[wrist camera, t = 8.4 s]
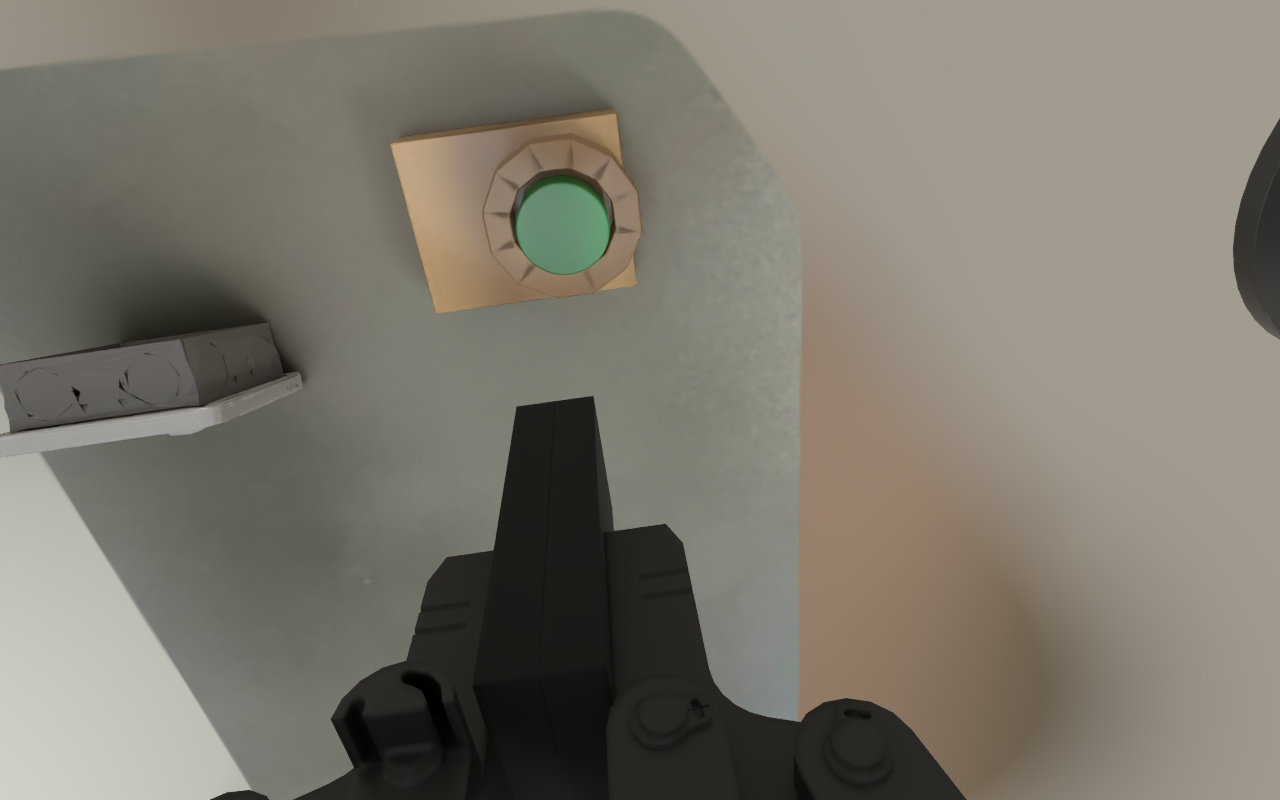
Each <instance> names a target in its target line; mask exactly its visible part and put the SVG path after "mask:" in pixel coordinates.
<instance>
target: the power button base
mask: <svg viewBox="0 0 1280 800" xmlns="http://www.w3.org/2000/svg"><path fill="white" fill-rule="evenodd" d="M390 146H391V150H392V153H393V157H394V161H395V164H396V168H397V172H398V176H399V179H400V183H401V187H402V190H403V194H404V198H405V201H406V205H407V209H408V213H409V216H410V220H411V224H412V227H413V231H414V235H415V238H416V242H417V246H418V250H419V253H420V257H421V261H422V264H423V268H424V272H425V275H426V279H427V283H428V287H429V290H430V294H431V298H432V301H433V305H434V309H435V312H436V313H444V312H451V311H459V310H466V309H473V308H480V307H487V306H494V305H502V304H509V303H516V302H523V301H530V300H537V299H545V298H552V297H554V298H562V297H569V296H576V295H584V294H591V293H595V292H597V291H602V290H609V289H616V288H623V287H631V286H636V285H637V280H636V271H635V263H634V255H633V253H634V251H635V248H636V246H637V244H638V241H639V239H640V237H641V235H642V223H641V214H640V206H639V197H638V191H637V189H636V186H635V184H634V182H633V180H632V179H631V178H630V176H629V175H628V173H627V172H626V171H625V169H624V168H623V165H622V157H621V148H620V140H619V132H618V124H617V116H616V113H615V111H614V109H605V110H597V111H590V112H582V113H575V114H568V115H560V116H553V117H545V118H538V119H530V120H523V121H515V122H508V123H500V124H493V125H485V126H478V127H470V128H463V129H455V130H448V131H440V132H433V133H425V134H418V135H410V136H403V137H400V138H398V139H397V140H395V141H394V142H392V143H391V144H390ZM554 175H569V176H574V177H577V178H580V179H582V180H584V181H586V182H587V183H589V184H590V185H591V186H592V187H593V188H595V190H596V191H597V192H598V193H599V195H600V196H601V198H602V199H603V201H604V203H605V206H606V209H607V214H608V219H609V225H610V235H609V241H608V244H607V247H606V249H605V251H604V253H603V254H602V256H601V257H600V259H599V260H598V261H597V262H596V263H595V264H594V265H592V266H591V267H590V268H588V269H586V270H584V271H582V272H580V273H577V274H572V275H557V274H552V273H548V272H546V271H544V270H541V269H540V268H538V267H537V266H535V265H534V264H533V263H531V261H530V260H529V259H528V258H527V257H526V256H525V255H524V253H523V251H522V250H521V248H520V245H519V243H518V240H517V236H516V218H517V215H518V211H519V207H520V204H521V202H522V199H523V197H524V196H525V194H526V193H527V191H528V190H529V189H530V188H531V187H532V186H533V185H534V184H536V183H537V182H538V181H540V180H542V179H544V178H547V177H550V176H554Z"/></svg>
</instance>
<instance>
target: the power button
mask: <svg viewBox="0 0 1280 800" xmlns="http://www.w3.org/2000/svg"><path fill="white" fill-rule="evenodd" d="M609 235H610V225H609V219H608V214H607V209H606V206H605V203H604V201H603V199H602V198H601V196H600V195H599V193H598V192H597V191H596V190H595V188H593V187H592V186H591V185H590V184H589V183H587V182H586V181H584V180H582V179H580V178H577V177H574V176H569V175H554V176H550V177H547V178H544V179H542V180H540V181H538V182H537V183H536V184H534V185H533V186H532V187H531V188H530V189H529V190H528V191H527V193H526V194H525V196H524V197H523V199H522V202H521V204H520V207H519V211H518V215H517V218H516V236H517V240H518V243H519V245H520V248H521V250H522V251H523V253H524V255H525V256H526V257H527V258H528V259H529V260H530V261H531V263H533V264H534V265H535V266H537V267H538V268H540V269H541V270H544V271H546V272H548V273H552V274H557V275H572V274H577V273H580V272H582V271H584V270H586V269H588V268H590V267H591V266H592V265H594V264H595V263H596V262H597V261H598V260H599V259H600V257H601V256H602V254H603V253H604V251H605V249H606V247H607V244H608V241H609Z"/></svg>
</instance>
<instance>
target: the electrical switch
mask: <svg viewBox="0 0 1280 800" xmlns="http://www.w3.org/2000/svg"><path fill="white" fill-rule="evenodd" d="M122 346H123V348H121V346H120V343H119V344H113V345H108V346H102V347H96V348H91V349H85V350H80V351H74V352H69V353H63V354H57V355H52V356H46V357H41V358H35V359H30V360H24V361H18V362H13V363H7V364H2V365H0V384H1V386H2V389H3V392H4V399H5V410H6V413H7V415H8V418H9V423H10V432H7V433H3V434H0V457H8V456H14V455H22V454H29V453H35V452H42V451H49V450H56V449H63V448H70V447H77V446H84V445H91V444H98V443H105V442H112V441H119V440H126V439H133V438H139V437H146V436H153V435H160V434H167V433H169V435H170V436H175V435H185V434H192V433H195V432H198V431H201V430H203V429H204V428H206V427H209V426H213V425H217V424H221V423H224V422H226V421H229V420H231V419H234V418H237V417H239V416H242V415H244V414H246V413H248V412H251V411H253V410H255V409H258V408H260V407H262V406H264V405H267V404H269V403H271V402H274V401H276V400H278V399H280V398H283V397H285V396H287V395H290V394H292V393H294V392H296V391H298V390H300V389H302V388H303V386H302V381H301V375H300V373H299V372H291V373H284V374H283V370H282V365H281V361H280V356H279V353H278V351H277V349H276V347H275V345H274V342H273V338H272V334H271V330H270V326H269V322H266V323H259V324H252V325H245V326H238V327H231V328H224V329H217V330H210V331H203V332H196V333H189V334H182V335H175V336H167V337H160V338H153V339H146V340H139V341H132V342H125V343H122Z"/></svg>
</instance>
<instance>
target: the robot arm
mask: <svg viewBox="0 0 1280 800" xmlns="http://www.w3.org/2000/svg"><path fill="white" fill-rule="evenodd" d="M331 721H332V723H333V725H334V727H335V729H336V731H337V733H338V735H339V737H340V739H341V741H342V743H343V745H344V747H345V749H346V752H347V754H348V756H349V758H350V760H351V762H352V764H353V766H354V768H353V769H352V770H351V771H349V772H348V773H347V774H345V775H344V776H342V777H340V778H338V779H337V780H335V781H333V782H331V783H329V784H327V785H325V786H323V787H321V788H319V789H316V790H314V791H312V792H310V793H307V794H305V795H303V796H301V797H298V798H296V799H294V800H966V799H965V797H964V796H963V795H962V793H960V791H959V790H958V788H957V787H956V786H955V785H954V783H953V782H952V781H951V779H950V778H949V777H948V775H947V774H946V773H945V772H944V770H943V769H942V768H941V767H940V765H939V764H938V763H937V761H936V760H935V759H934V758H933V756H932V755H931V754H930V753H929V751H928V750H927V749H926V747H925V746H924V745H923V744H922V742H921V741H920V740H919V738H918V737H917V736H916V735H915V733H914V732H913V731H912V730H911V729H910V728H909V727H908V726H907V725H906V724H905V723H904V722H903V721H902V720H901V719H900V718H898V717H897V716H896V715H895V714H894V713H893V712H891V711H889V710H887V709H884V708H882V707H880V706H878V705H876V704H874V703H872V702H869V701H862V700H855V699H848V698H845V699H840V700H834V701H829V702H824V703H822V704H821V705H819V706H818V707H816V708H814V709H813V710H811V711H810V712H808V713H807V714H806V715H805V717H804V718H803V720H802V721H801V722H796V721H790V720H783V719H777V718H770V717H766V716H762V715H758V714H754V713H751V712H749V711H747V710H745V709H743V708H741V707H739V706H737V705H735V704H734V703H732V702H731V701H730V700H729V699H728V698H727V697H725V696H724V695H723V694H722V693H721V691H720V690H719V689H718V687H717V686H716V684H715V683H714V681H713V679H712V676H711V673H710V670H709V667H708V662H707V657H706V652H705V648H704V643H703V638H702V633H701V628H700V624H699V619H698V614H697V609H696V604H695V599H694V595H693V591H692V585H691V580H690V575H689V572H688V566H687V561H686V556H685V551H684V547H683V543H682V542H681V540H680V539H679V538H678V537H677V536H676V535H675V534H674V533H673V532H672V530H671V529H670V528H669V527H668V526H667V525H666V524H661V525H654V526H647V527H640V528H633V529H626V530H619V531H614V528H613V515H612V505H611V499H610V493H609V487H608V481H607V475H606V469H605V463H604V457H603V451H602V445H601V439H600V433H599V427H598V421H597V415H596V409H595V403H594V397H593V396H590V397H583V398H575V399H568V400H561V401H554V402H547V403H540V404H532V405H525V406H518V407H517V408H516V414H515V420H514V426H513V433H512V439H511V445H510V452H509V458H508V464H507V471H506V477H505V483H504V489H503V496H502V502H501V508H500V515H499V521H498V527H497V533H496V540H495V546H494V551H487V552H480V553H473V554H466V555H459V556H452V557H447V558H446V559H445V560H444V562H443V563H442V564H441V565H440V567H439V568H438V569H437V570H436V572H435V573H434V574H433V576H432V577H431V578H430V579H429V581H428V583H427V586H426V590H425V594H424V597H423V601H422V605H421V613H419V616H418V620H417V623H416V627H415V635H413V638H412V642H411V646H410V649H409V653H408V657H407V660H406V661H404V662H401V663H397V664H394V665H391V666H387V667H384V668H381V669H380V670H378V671H376V672H375V673H373V674H371V675H370V676H368V677H366V678H364V679H363V680H361V681H360V682H359V683H358V684H357V685H356V686H355V687H354V688H353V689H352V690H351V691H350V692H349V693H348V694H347V695H346V696H345V697H344V698H342V700H341V702H340V704H339V705H338V707H337V709H336V711H335V713H334V714H333V716H332V718H331ZM211 800H269V799H268V797H267V796H265V795H262V794H259V793H256V792H254V791H251V790H246V791H236V792H227V793H225V794H222V795H220V796H218V797H215V798H213V799H211Z"/></svg>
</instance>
